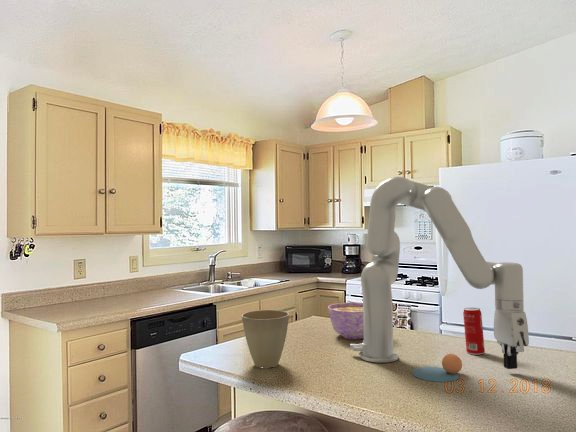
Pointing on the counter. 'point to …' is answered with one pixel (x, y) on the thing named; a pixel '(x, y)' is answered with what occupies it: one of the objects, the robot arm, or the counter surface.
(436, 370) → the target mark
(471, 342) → the beverage can
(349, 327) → the bowl of food
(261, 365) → the plant pot
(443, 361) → the ball
